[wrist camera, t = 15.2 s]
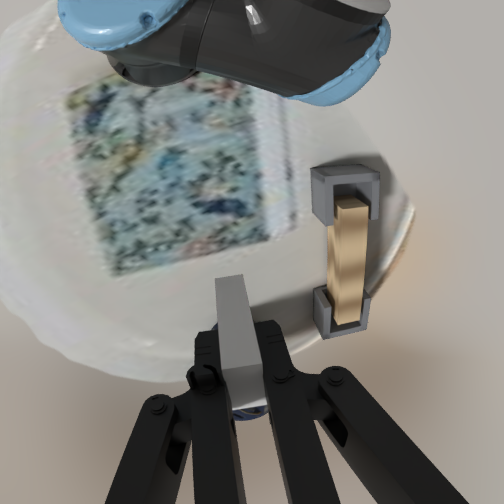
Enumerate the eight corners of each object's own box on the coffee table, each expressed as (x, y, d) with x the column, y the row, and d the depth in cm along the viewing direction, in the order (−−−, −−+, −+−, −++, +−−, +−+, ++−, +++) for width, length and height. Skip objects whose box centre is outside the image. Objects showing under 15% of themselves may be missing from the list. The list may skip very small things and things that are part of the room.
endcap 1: (310, 168, 44) (324, 176, 39) (360, 164, 45) (379, 172, 40) (312, 212, 47) (325, 226, 42) (360, 206, 48) (378, 219, 43)
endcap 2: (354, 310, 57) (366, 329, 52) (313, 319, 57) (322, 339, 51) (356, 279, 54) (370, 298, 49) (313, 288, 54) (324, 308, 48)
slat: (327, 197, 46) (342, 209, 40) (350, 194, 46) (368, 206, 41) (326, 304, 55) (337, 325, 49) (346, 300, 55) (359, 319, 50)
